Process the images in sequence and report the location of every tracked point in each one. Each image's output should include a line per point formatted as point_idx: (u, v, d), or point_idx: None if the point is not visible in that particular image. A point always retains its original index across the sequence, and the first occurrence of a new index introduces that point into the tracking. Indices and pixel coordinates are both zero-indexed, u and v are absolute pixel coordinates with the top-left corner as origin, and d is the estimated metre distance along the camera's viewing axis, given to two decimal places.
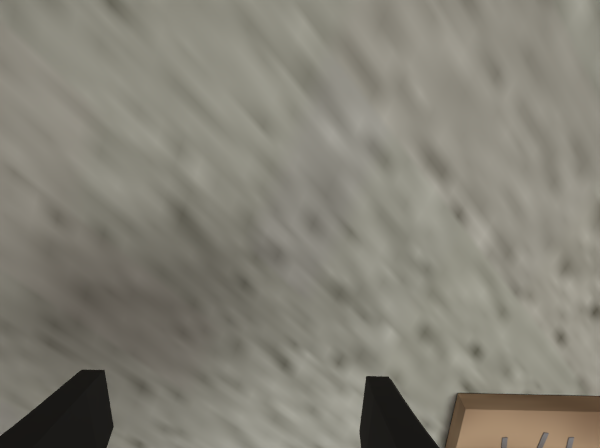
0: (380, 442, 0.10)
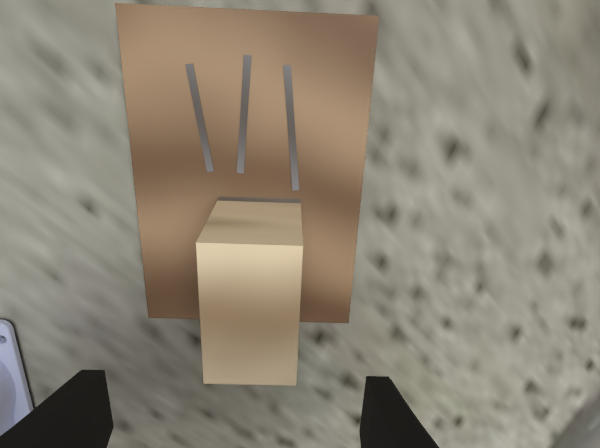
0: (380, 442, 0.10)
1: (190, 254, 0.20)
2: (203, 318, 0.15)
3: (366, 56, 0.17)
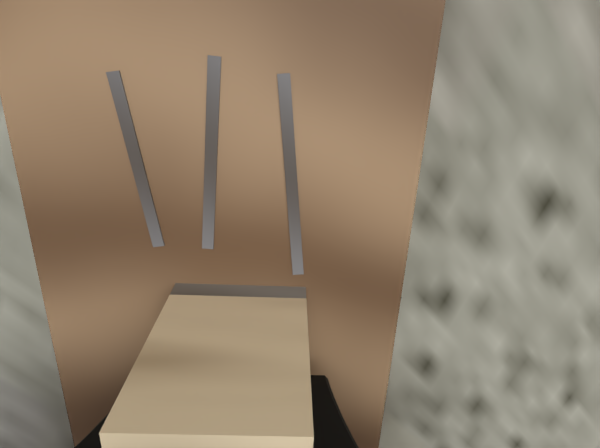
0: None
1: None
2: None
3: (421, 58, 0.10)
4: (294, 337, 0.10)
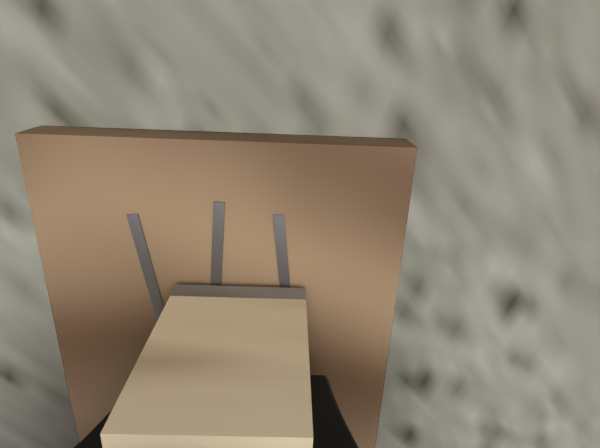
0: None
1: None
2: None
3: (396, 202, 0.11)
4: (294, 338, 0.10)
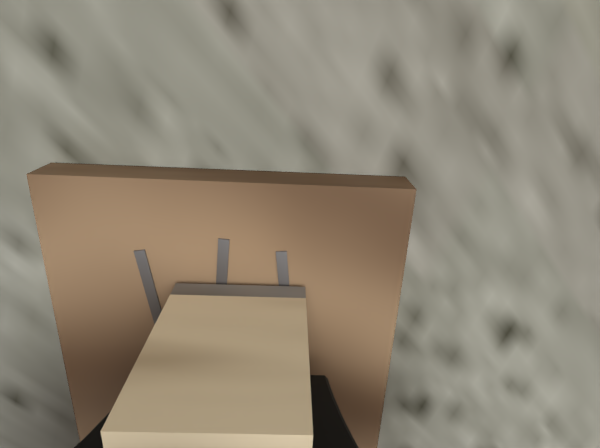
0: None
1: None
2: None
3: (396, 240, 0.12)
4: (294, 336, 0.10)
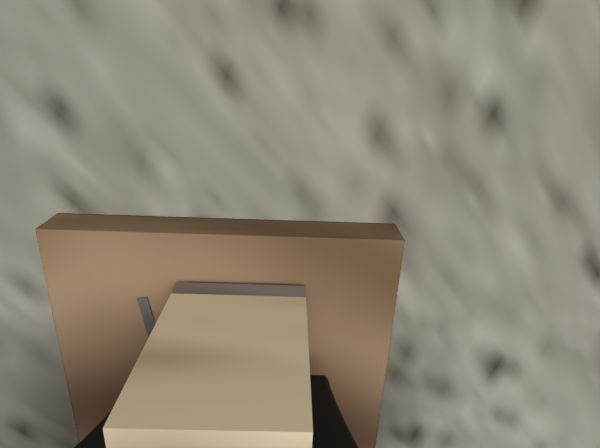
0: None
1: None
2: None
3: (386, 286, 0.12)
4: (294, 335, 0.10)
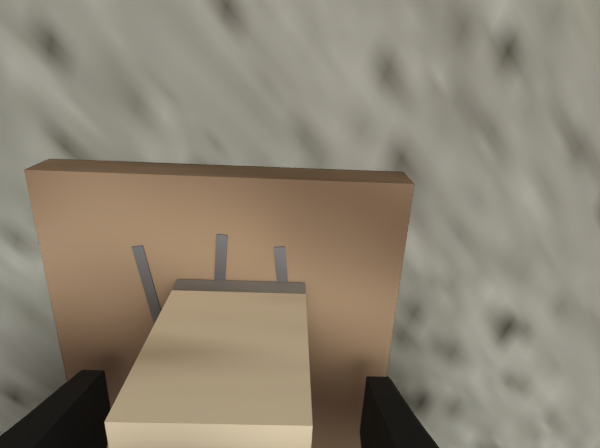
0: (380, 442, 0.10)
1: None
2: None
3: (394, 235, 0.12)
4: (293, 331, 0.10)
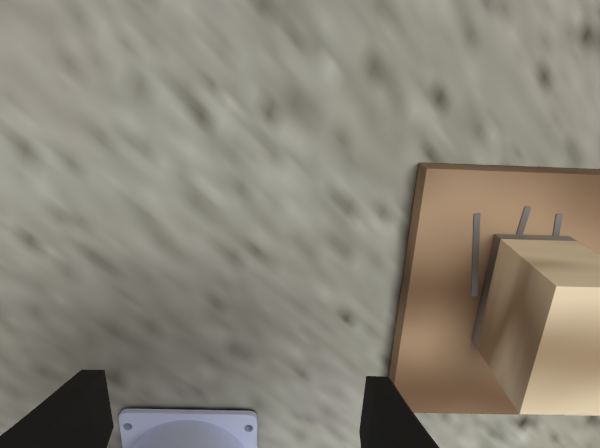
0: (380, 442, 0.10)
1: (440, 360, 0.23)
2: (540, 354, 0.17)
3: None
4: (594, 256, 0.18)
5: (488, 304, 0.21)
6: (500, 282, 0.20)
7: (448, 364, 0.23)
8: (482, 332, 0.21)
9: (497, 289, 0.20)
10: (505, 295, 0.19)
